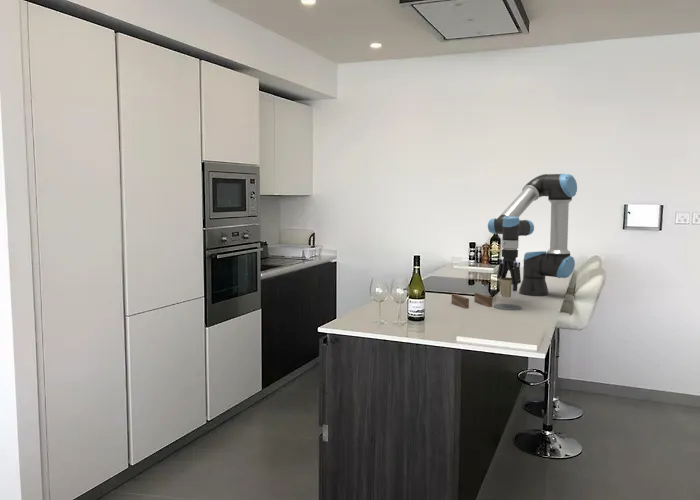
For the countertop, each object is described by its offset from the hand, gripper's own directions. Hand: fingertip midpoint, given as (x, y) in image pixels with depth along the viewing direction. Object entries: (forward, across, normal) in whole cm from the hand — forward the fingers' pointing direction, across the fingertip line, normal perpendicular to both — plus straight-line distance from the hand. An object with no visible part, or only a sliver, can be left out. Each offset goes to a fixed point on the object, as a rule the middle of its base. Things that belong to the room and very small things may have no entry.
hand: (508, 295), depth 284 cm
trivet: (+6, 0, 0) cm, 6 cm away
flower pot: (+1, 0, 0) cm, 1 cm away
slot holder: (+6, -10, -14) cm, 18 cm away
